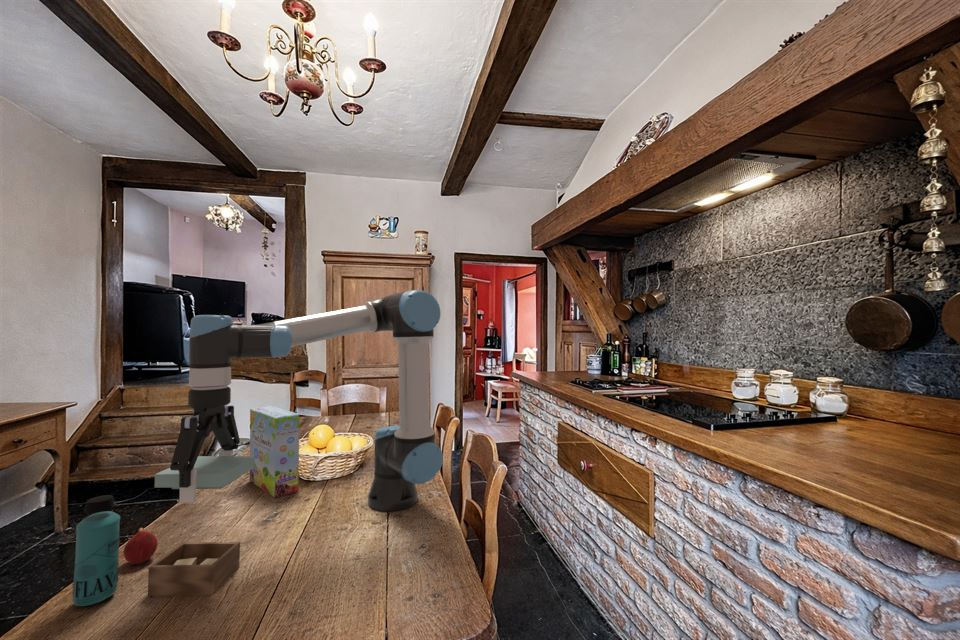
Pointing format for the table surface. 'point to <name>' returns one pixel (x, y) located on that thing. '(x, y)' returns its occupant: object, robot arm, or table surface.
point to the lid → (209, 472)
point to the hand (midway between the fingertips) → (207, 490)
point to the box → (194, 569)
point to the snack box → (274, 450)
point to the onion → (140, 547)
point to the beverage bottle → (96, 553)
